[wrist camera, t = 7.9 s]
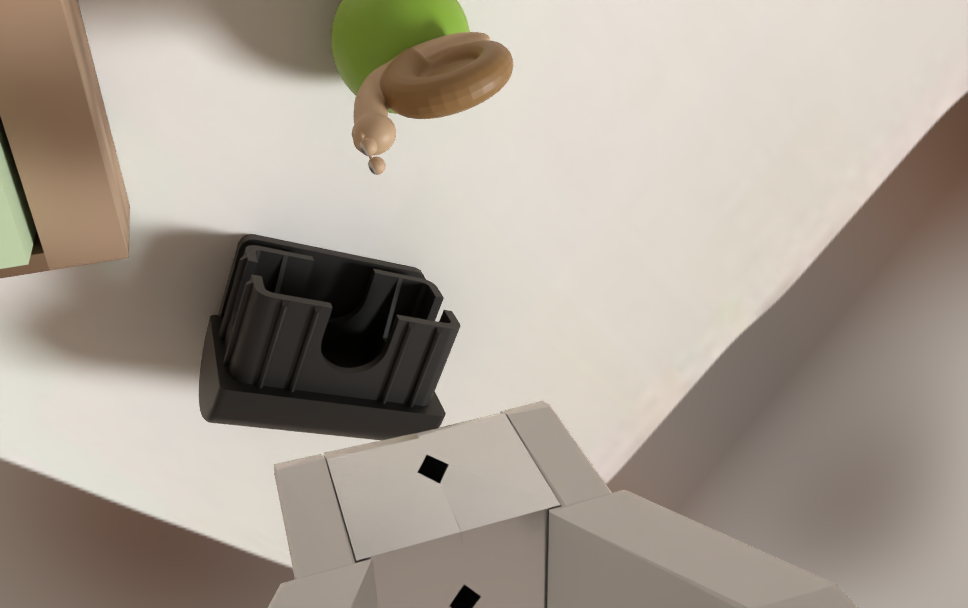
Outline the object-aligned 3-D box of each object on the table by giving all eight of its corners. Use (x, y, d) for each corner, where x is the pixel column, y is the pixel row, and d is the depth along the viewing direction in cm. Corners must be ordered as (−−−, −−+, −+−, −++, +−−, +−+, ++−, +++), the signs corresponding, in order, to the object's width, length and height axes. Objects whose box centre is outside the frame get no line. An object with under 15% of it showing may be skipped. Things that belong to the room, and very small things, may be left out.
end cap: (193, 363, 40) (201, 451, 35) (230, 228, 38) (245, 300, 32) (389, 389, 45) (425, 471, 39) (434, 270, 42) (478, 340, 37)
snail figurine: (274, 1, 34) (328, 80, 24) (420, -63, 35) (531, -11, 25) (331, 122, 37) (399, 236, 27) (464, 61, 38) (577, 151, 28)
